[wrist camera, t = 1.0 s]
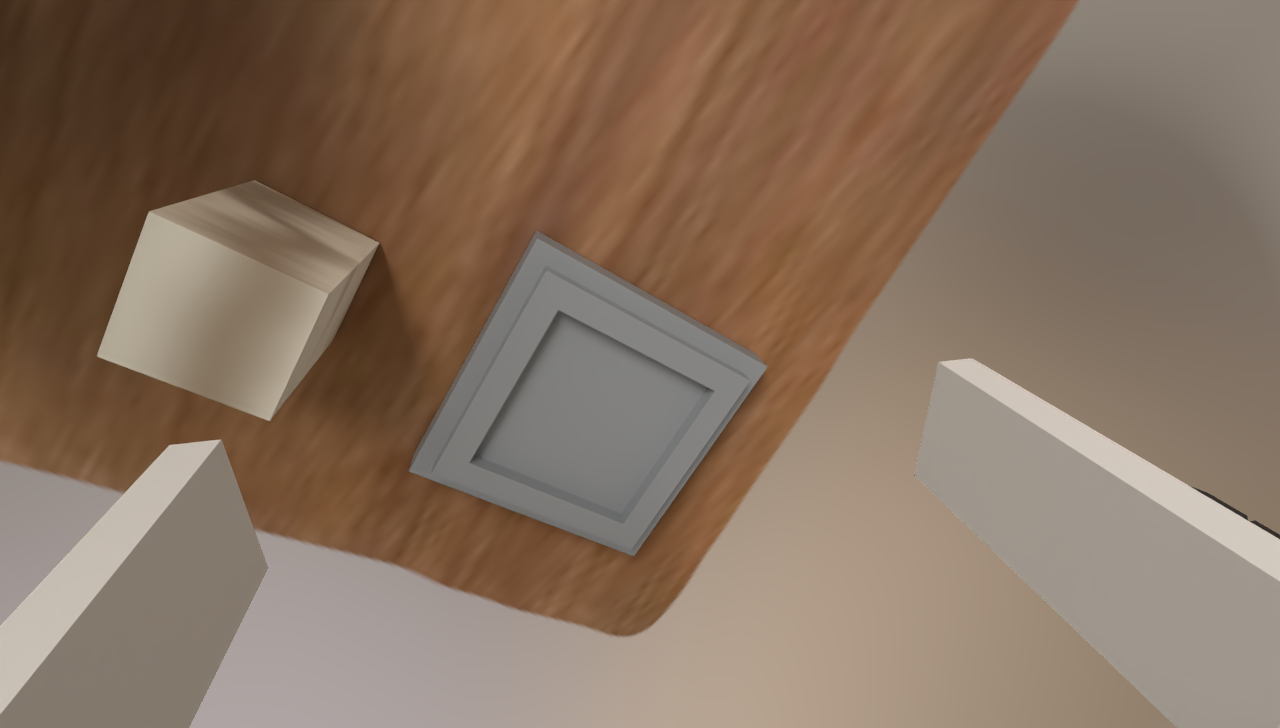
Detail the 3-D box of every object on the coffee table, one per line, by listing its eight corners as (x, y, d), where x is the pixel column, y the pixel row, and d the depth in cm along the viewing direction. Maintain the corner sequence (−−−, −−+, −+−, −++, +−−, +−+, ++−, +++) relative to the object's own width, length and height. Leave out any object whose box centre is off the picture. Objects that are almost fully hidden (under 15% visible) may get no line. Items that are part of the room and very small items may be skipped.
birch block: (211, 287, 30) (96, 356, 22) (254, 180, 29) (148, 211, 20) (332, 340, 32) (269, 421, 24) (379, 242, 31) (328, 294, 23)
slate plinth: (414, 452, 36) (405, 481, 33) (536, 230, 32) (537, 242, 29) (628, 536, 41) (636, 567, 38) (755, 354, 37) (774, 373, 34)
